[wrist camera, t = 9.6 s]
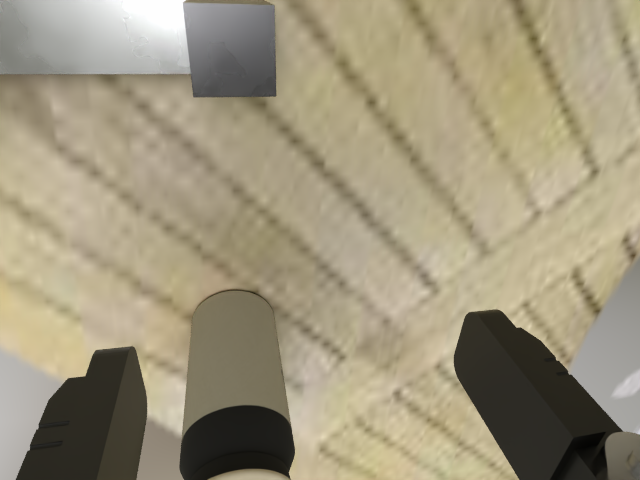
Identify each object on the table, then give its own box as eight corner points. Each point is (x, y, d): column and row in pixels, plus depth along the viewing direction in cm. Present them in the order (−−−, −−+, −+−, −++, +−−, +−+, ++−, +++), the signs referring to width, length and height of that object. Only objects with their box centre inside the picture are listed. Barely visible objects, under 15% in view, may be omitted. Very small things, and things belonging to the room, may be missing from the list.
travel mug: (179, 337, 42) (155, 538, 27) (213, 277, 39) (207, 465, 24) (251, 357, 45) (266, 545, 30) (287, 303, 42) (324, 481, 27)
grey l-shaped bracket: (-140, -16, 24) (-343, -14, 15) (258, -3, 28) (274, 5, 19) (-104, 61, 26) (-266, 101, 17) (260, 62, 30) (276, 96, 21)
